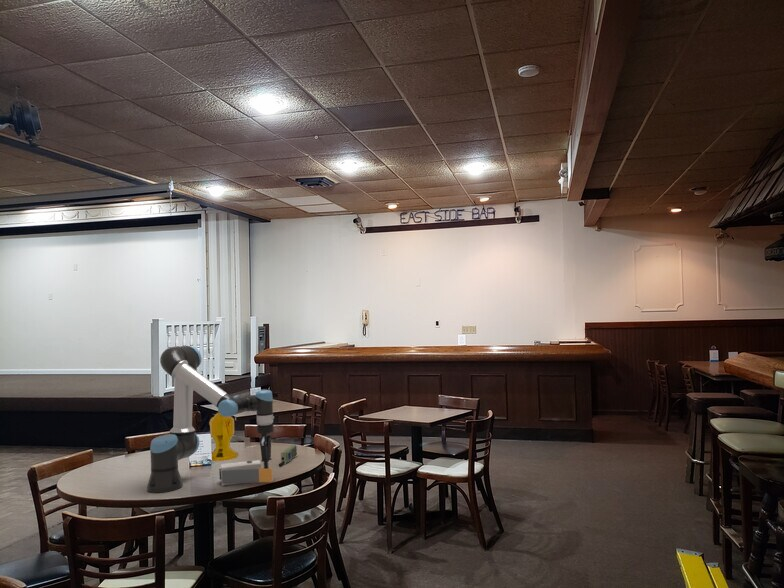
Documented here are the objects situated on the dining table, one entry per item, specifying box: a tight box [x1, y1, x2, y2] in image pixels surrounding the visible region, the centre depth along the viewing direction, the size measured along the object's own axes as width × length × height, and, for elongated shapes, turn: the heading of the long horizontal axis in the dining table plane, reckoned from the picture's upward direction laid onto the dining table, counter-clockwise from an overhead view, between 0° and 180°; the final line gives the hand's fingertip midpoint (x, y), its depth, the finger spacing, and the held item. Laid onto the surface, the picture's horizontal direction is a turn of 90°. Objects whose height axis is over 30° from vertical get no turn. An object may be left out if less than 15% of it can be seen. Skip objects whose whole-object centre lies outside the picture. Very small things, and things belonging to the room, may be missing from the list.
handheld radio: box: [278, 444, 298, 467], centre depth 309 cm, size 7×3×25 cm
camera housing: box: [218, 459, 262, 486], centre depth 272 cm, size 19×8×9 cm, turn 107°
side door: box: [221, 467, 274, 485], centre depth 265 cm, size 23×1×6 cm, turn 90°
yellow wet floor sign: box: [208, 411, 239, 462], centre depth 325 cm, size 18×24×28 cm
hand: (267, 474), depth 267 cm, fingers closed
